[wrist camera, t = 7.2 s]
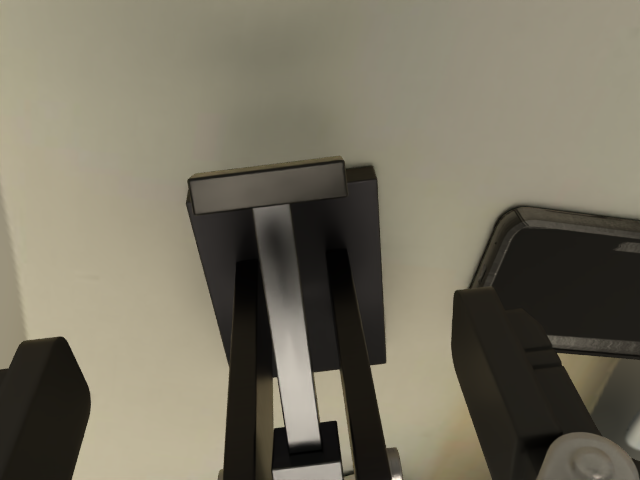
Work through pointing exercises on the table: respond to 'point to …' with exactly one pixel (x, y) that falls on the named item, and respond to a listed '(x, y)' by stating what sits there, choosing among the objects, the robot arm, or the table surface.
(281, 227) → the lever
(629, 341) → the phone
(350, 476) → the pill bottle
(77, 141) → the table surface
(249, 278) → the bracket
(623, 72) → the table surface
